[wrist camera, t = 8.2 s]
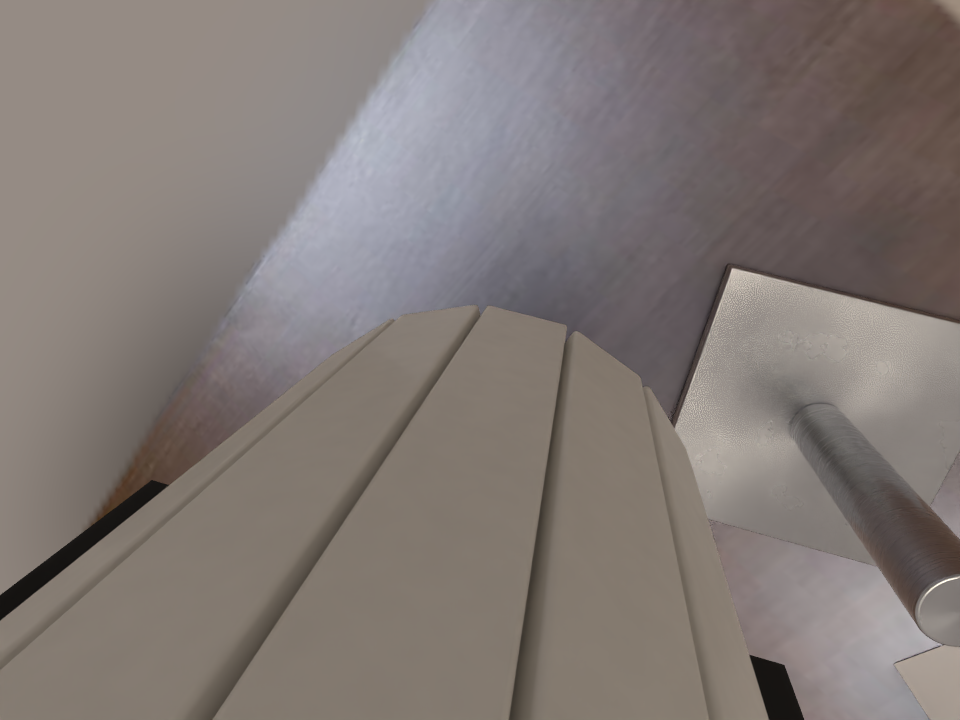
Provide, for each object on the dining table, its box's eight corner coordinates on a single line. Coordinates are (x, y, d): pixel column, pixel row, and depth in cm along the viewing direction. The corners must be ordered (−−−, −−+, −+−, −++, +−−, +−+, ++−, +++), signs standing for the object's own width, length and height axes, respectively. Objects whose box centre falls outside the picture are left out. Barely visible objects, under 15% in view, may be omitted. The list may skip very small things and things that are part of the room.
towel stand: (727, 263, 29) (830, 355, 16) (1006, 331, 28) (1343, 486, 15) (646, 492, 33) (677, 707, 21) (887, 559, 32) (1076, 829, 20)
